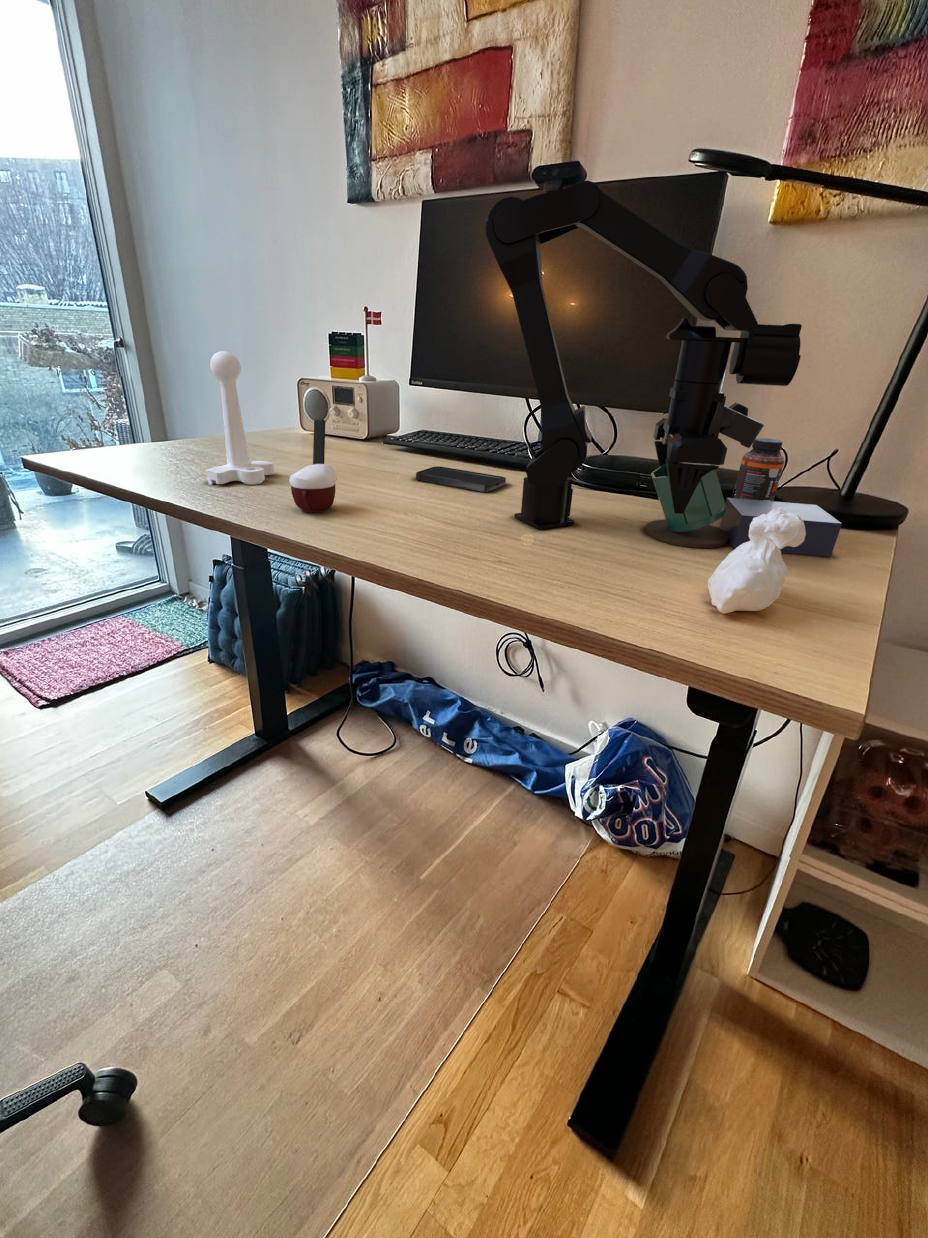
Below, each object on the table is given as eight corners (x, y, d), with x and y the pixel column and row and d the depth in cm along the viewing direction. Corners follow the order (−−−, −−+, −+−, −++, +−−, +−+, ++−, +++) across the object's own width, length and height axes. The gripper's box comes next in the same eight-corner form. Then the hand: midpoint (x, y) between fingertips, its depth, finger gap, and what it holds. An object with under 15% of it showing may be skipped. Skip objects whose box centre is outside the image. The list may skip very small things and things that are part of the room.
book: (733, 548, 77) (741, 515, 75) (719, 528, 85) (726, 497, 82) (831, 557, 75) (842, 523, 73) (807, 535, 83) (817, 504, 81)
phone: (436, 465, 109) (508, 477, 103) (436, 471, 110) (507, 483, 103) (413, 473, 103) (487, 485, 97) (413, 479, 104) (487, 492, 97)
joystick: (260, 471, 105) (245, 350, 96) (287, 478, 101) (274, 352, 92) (203, 482, 97) (181, 350, 88) (230, 490, 93) (210, 353, 84)
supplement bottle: (774, 519, 90) (795, 444, 84) (733, 515, 91) (752, 441, 85) (764, 509, 95) (783, 437, 90) (725, 505, 96) (743, 435, 91)
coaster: (689, 552, 74) (690, 548, 74) (628, 528, 83) (629, 524, 82) (745, 541, 79) (746, 537, 79) (682, 519, 88) (683, 515, 87)
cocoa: (312, 520, 80) (305, 430, 75) (278, 513, 83) (268, 425, 77) (354, 505, 88) (350, 422, 83) (321, 498, 90) (315, 418, 85)
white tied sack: (733, 647, 57) (844, 576, 50) (679, 590, 57) (783, 513, 50) (741, 602, 66) (835, 538, 60) (694, 554, 66) (783, 485, 60)
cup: (654, 482, 75) (715, 459, 72) (648, 469, 82) (704, 448, 79) (672, 537, 78) (731, 517, 75) (665, 520, 84) (719, 501, 82)
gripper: (790, 392, 63) (753, 529, 70) (747, 379, 80) (720, 492, 87) (684, 386, 65) (658, 521, 72) (663, 375, 81) (644, 486, 88)
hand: (673, 504), depth 80 cm, fingers open, 9 cm apart
